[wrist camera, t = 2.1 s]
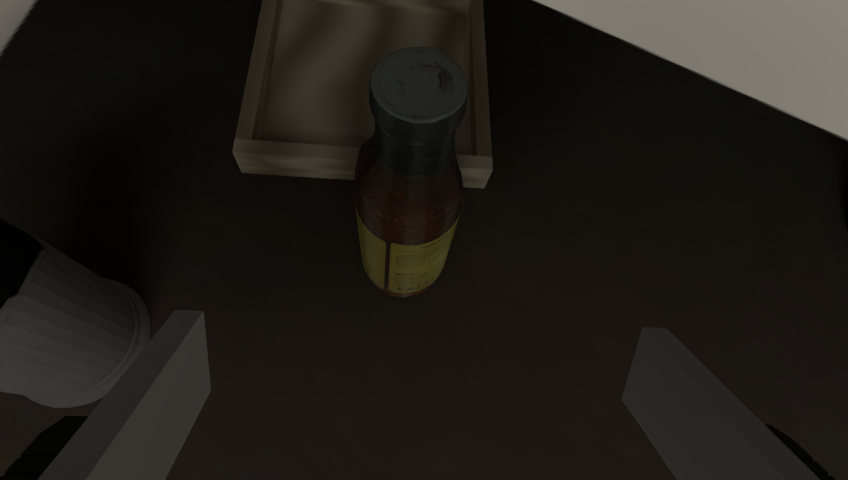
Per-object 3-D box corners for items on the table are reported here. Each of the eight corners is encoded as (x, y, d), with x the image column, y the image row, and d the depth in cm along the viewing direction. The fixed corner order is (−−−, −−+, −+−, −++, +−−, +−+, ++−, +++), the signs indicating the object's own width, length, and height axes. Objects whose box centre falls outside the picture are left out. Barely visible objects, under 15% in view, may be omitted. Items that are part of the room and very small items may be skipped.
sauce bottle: (453, 246, 38) (533, 64, 20) (421, 314, 35) (479, 178, 17) (380, 212, 38) (392, 3, 20) (342, 277, 36) (319, 106, 18)
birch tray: (475, 16, 48) (482, -9, 46) (484, 188, 40) (492, 169, 38) (274, -4, 46) (269, -32, 44) (241, 172, 38) (232, 151, 36)
